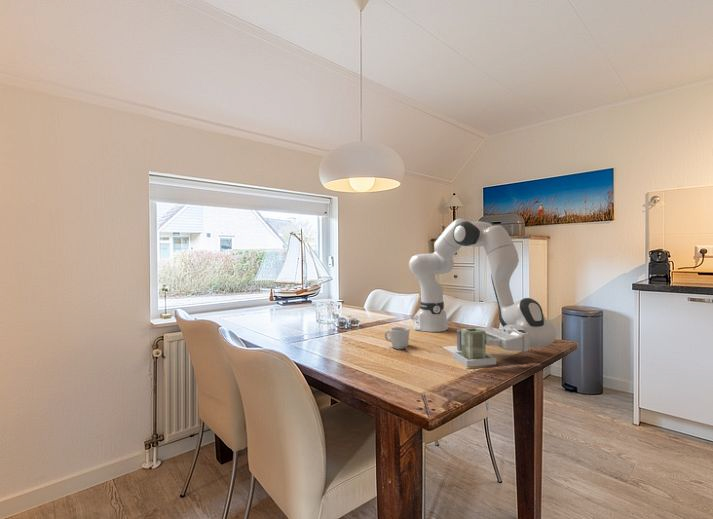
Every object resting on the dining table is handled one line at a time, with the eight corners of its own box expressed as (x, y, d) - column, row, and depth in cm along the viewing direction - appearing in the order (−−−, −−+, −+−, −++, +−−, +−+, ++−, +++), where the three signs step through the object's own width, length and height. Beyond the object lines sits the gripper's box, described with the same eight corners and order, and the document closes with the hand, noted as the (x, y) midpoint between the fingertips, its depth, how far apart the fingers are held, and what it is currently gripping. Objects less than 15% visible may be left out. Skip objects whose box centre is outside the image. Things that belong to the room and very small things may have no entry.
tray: (452, 359, 132) (452, 351, 132) (479, 357, 134) (479, 349, 134) (467, 369, 121) (466, 360, 121) (496, 366, 123) (496, 358, 123)
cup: (381, 348, 149) (381, 329, 149) (388, 343, 156) (388, 325, 156) (405, 351, 144) (405, 331, 144) (412, 346, 151) (411, 327, 151)
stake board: (442, 349, 146) (441, 327, 146) (464, 347, 148) (464, 326, 148) (453, 356, 136) (453, 332, 136) (477, 354, 138) (477, 331, 138)
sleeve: (461, 358, 130) (461, 328, 129) (476, 357, 131) (476, 327, 131) (469, 363, 124) (469, 332, 124) (485, 362, 125) (485, 331, 125)
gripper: (496, 322, 140) (464, 324, 138) (531, 334, 120) (494, 336, 117) (496, 338, 140) (464, 340, 138) (531, 352, 120) (494, 355, 118)
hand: (478, 339), depth 127 cm, fingers open, 8 cm apart
